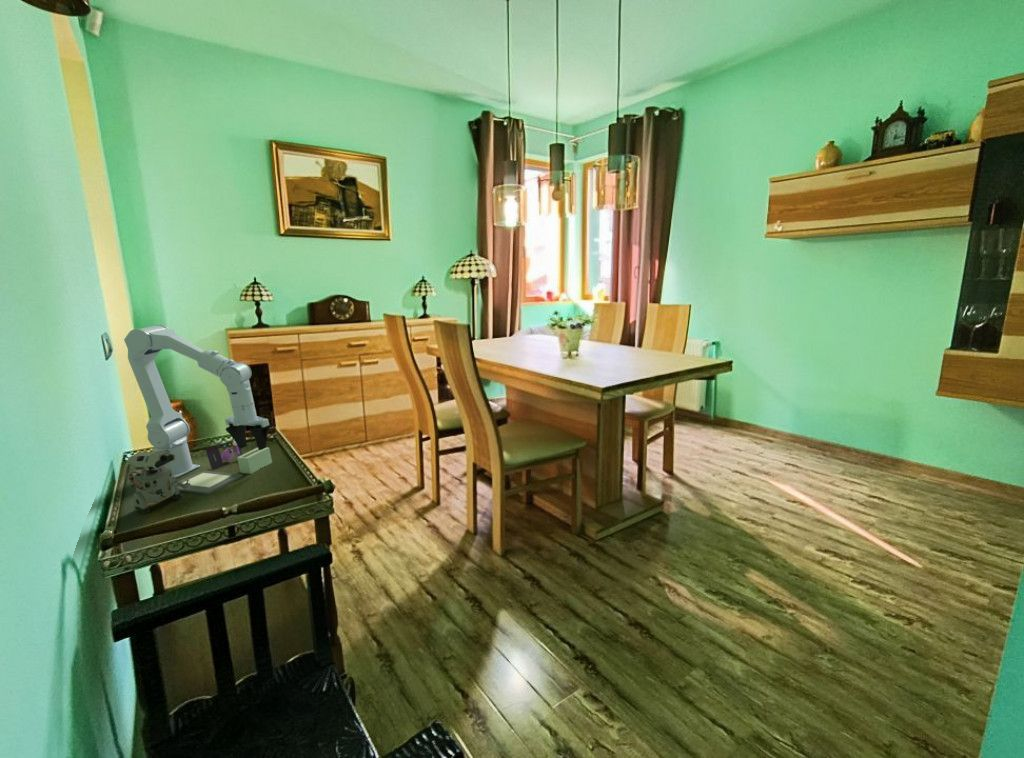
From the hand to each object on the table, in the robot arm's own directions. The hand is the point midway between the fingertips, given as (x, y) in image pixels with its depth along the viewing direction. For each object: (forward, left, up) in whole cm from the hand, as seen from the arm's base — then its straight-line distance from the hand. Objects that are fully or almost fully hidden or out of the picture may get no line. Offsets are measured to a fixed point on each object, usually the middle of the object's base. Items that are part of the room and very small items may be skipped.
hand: (252, 448), depth 141 cm
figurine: (-6, -24, -7) cm, 26 cm away
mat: (-7, -12, -6) cm, 15 cm away
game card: (-13, +1, -7) cm, 15 cm away
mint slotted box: (0, 0, -6) cm, 6 cm away
